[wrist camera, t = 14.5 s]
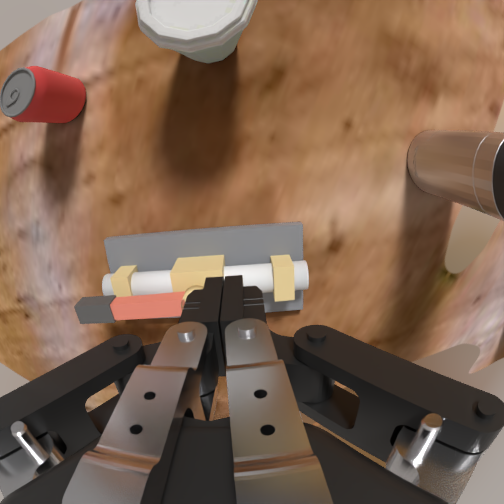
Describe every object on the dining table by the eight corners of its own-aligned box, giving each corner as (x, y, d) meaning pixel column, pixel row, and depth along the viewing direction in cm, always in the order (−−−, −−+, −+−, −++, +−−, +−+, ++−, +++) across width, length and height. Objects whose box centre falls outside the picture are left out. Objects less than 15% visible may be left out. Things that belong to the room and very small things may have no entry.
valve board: (300, 221, 40) (312, 237, 33) (301, 304, 44) (311, 331, 37) (107, 237, 39) (85, 255, 33) (125, 313, 43) (109, 340, 37)
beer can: (43, 101, 32) (-11, 95, 21) (74, 68, 31) (24, 51, 20) (63, 133, 34) (9, 134, 23) (96, 100, 33) (46, 88, 22)
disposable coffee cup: (269, 32, 31) (284, -25, 17) (220, 96, 34) (208, 66, 20) (199, -3, 29) (180, -65, 15) (151, 59, 32) (105, 19, 18)
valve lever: (209, 283, 34) (207, 292, 32) (213, 308, 35) (212, 319, 33) (81, 294, 34) (73, 303, 32) (89, 316, 35) (81, 326, 33)
